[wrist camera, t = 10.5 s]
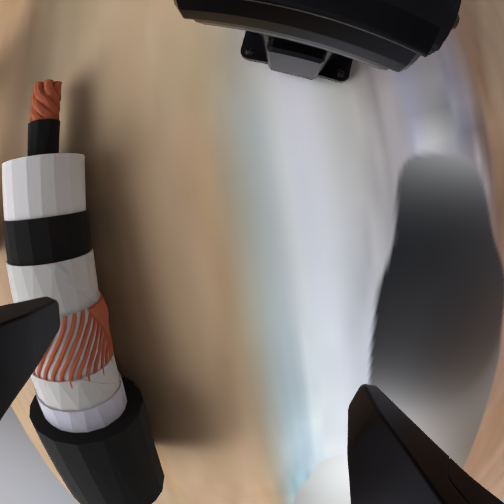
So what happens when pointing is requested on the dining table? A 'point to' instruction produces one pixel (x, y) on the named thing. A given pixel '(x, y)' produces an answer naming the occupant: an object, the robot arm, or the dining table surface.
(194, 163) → the dining table surface
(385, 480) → the robot arm
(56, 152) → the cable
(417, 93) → the dining table surface
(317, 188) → the dining table surface
